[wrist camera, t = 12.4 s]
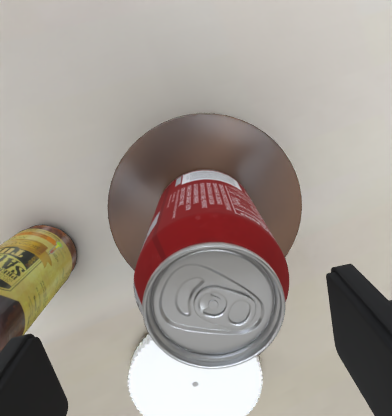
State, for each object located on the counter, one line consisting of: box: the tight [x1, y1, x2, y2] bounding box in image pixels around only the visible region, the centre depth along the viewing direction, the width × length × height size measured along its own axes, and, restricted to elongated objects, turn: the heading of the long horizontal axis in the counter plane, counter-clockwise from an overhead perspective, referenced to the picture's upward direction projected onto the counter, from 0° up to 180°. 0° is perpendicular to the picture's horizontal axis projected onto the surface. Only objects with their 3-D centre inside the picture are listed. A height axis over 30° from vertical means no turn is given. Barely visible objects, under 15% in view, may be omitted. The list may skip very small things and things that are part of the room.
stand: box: [108, 113, 302, 271], centre depth 28 cm, size 14×14×8 cm
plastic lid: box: [128, 334, 263, 416], centre depth 36 cm, size 14×14×2 cm
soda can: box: [134, 169, 289, 369], centre depth 19 cm, size 7×7×12 cm
